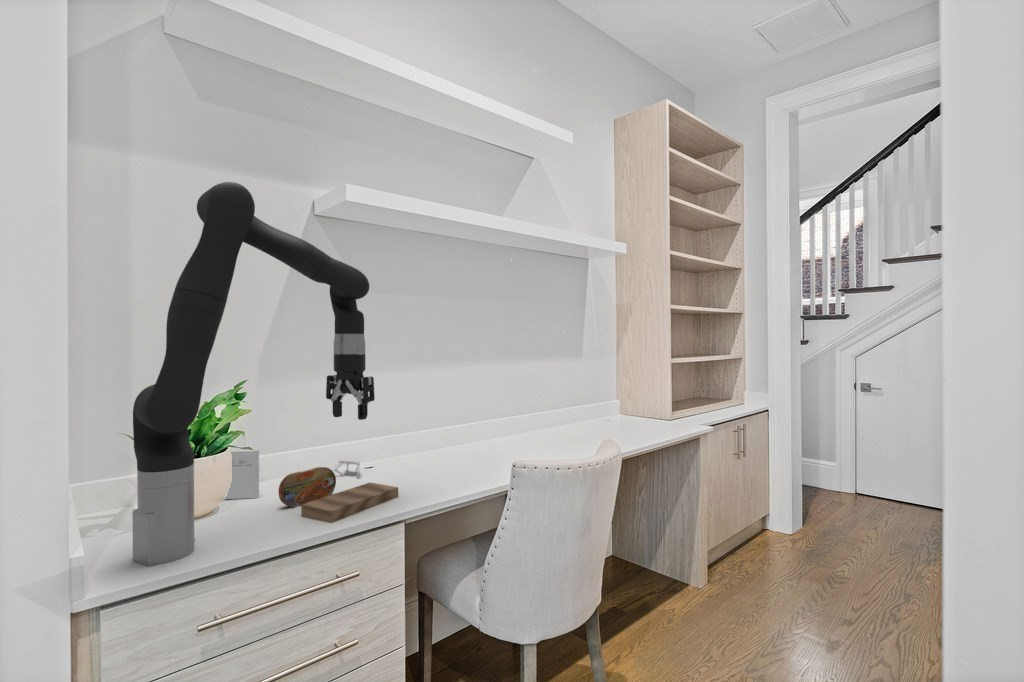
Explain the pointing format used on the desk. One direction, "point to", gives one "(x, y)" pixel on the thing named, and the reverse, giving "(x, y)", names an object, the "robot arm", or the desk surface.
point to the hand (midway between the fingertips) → (349, 418)
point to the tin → (307, 486)
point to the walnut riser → (348, 502)
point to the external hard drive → (244, 474)
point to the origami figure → (347, 461)
